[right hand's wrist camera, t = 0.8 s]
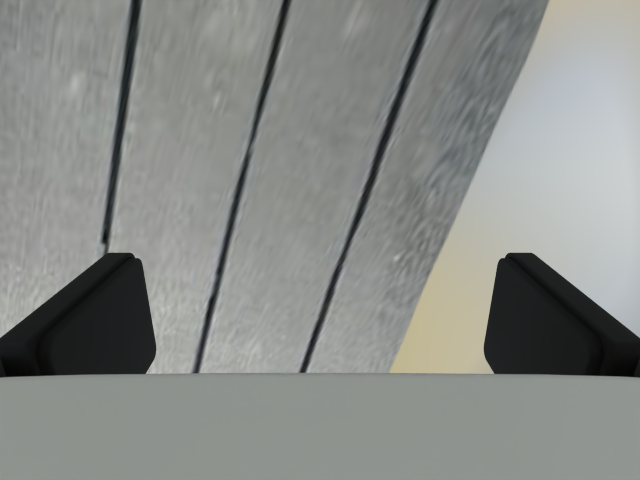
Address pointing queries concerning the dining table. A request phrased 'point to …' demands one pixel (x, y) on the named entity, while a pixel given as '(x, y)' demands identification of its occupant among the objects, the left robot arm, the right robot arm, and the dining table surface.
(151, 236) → the dining table surface
